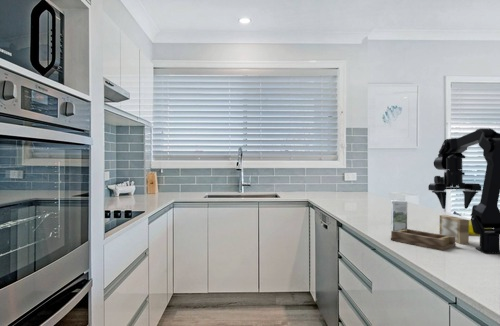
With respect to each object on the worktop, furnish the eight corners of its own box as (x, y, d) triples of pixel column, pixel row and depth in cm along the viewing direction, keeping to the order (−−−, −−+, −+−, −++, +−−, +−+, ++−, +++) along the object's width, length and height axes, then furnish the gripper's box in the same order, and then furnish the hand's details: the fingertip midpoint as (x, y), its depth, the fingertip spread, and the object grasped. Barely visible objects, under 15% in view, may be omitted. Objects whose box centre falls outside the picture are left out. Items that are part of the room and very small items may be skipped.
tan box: (468, 243, 135) (468, 220, 135) (459, 244, 135) (459, 220, 135) (447, 236, 147) (447, 215, 147) (439, 237, 147) (439, 215, 147)
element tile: (493, 236, 149) (493, 225, 149) (454, 235, 152) (454, 223, 152) (478, 229, 164) (478, 219, 164) (442, 228, 167) (442, 218, 167)
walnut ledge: (455, 246, 131) (455, 236, 131) (442, 250, 125) (442, 240, 125) (404, 236, 147) (404, 228, 147) (390, 240, 141) (390, 231, 141)
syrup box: (405, 232, 156) (405, 199, 155) (407, 235, 150) (407, 200, 150) (391, 231, 157) (391, 199, 157) (392, 234, 151) (392, 200, 151)
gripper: (464, 169, 152) (464, 206, 152) (421, 170, 151) (421, 206, 151) (482, 169, 141) (482, 209, 141) (435, 170, 140) (436, 209, 140)
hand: (454, 208), depth 143 cm, fingers open, 9 cm apart
